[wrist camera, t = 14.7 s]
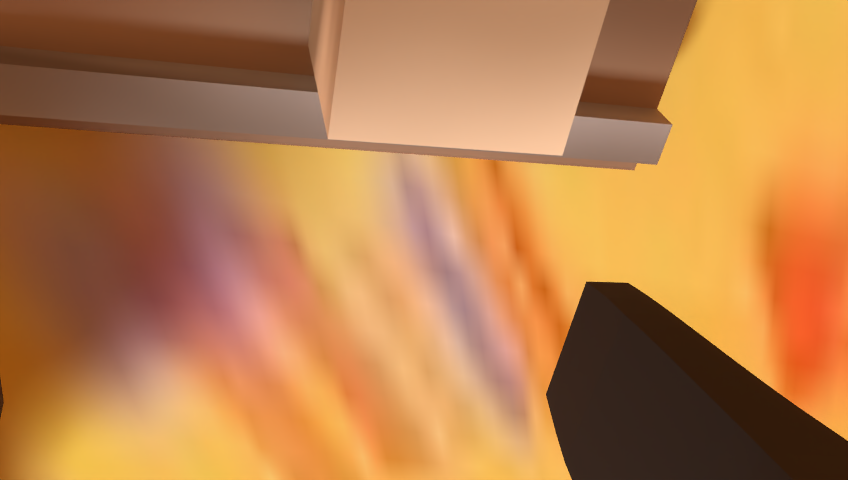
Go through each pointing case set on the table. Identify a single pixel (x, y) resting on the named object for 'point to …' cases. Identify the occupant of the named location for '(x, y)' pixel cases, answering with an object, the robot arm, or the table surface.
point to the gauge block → (453, 70)
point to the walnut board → (287, 75)
